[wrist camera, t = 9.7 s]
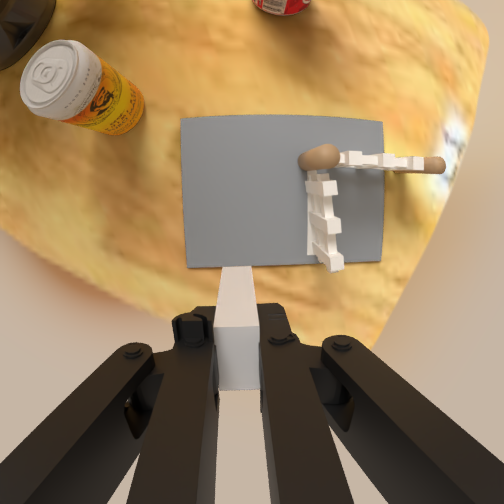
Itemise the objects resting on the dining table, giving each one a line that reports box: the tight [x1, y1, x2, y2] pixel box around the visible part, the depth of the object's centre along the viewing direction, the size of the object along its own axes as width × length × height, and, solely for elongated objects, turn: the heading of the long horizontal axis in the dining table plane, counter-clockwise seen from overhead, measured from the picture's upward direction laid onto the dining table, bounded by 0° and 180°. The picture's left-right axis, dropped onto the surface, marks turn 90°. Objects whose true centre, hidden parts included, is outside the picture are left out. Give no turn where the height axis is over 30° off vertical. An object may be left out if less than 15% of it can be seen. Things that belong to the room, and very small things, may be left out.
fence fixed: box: [298, 144, 446, 174], centre depth 27 cm, size 13×2×8 cm, turn 91°
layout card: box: [181, 115, 384, 268], centre depth 31 cm, size 22×16×1 cm
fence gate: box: [305, 173, 344, 273], centre depth 28 cm, size 9×1×7 cm, turn 8°
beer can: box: [20, 40, 144, 135], centre depth 21 cm, size 6×6×15 cm
